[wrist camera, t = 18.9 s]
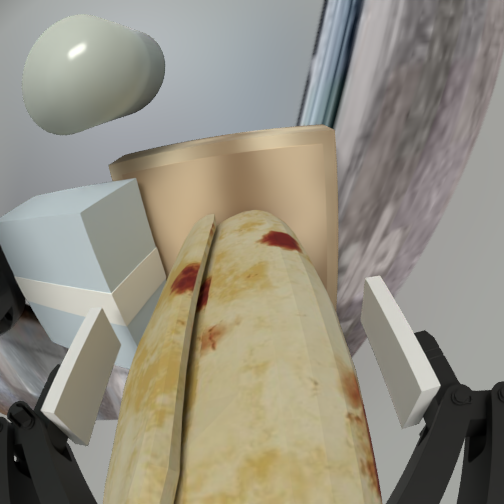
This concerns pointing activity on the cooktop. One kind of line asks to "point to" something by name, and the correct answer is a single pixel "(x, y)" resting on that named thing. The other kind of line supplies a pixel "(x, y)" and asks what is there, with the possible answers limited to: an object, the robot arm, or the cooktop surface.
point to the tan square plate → (243, 188)
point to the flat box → (86, 260)
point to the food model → (242, 382)
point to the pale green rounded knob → (89, 74)
